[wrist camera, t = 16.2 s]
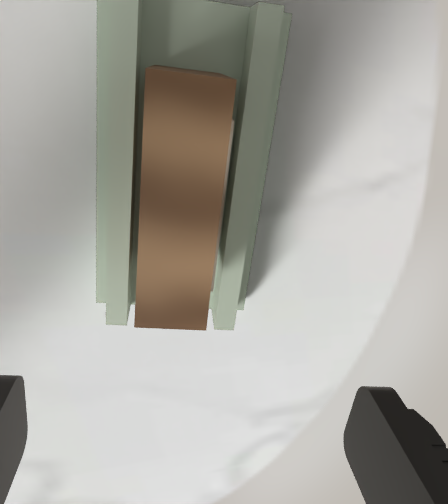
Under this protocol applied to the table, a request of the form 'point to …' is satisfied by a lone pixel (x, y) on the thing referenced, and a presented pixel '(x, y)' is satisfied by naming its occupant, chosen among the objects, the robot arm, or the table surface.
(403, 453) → the robot arm
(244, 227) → the pale green channel holder
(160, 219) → the wooden picture frame
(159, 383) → the table surface
